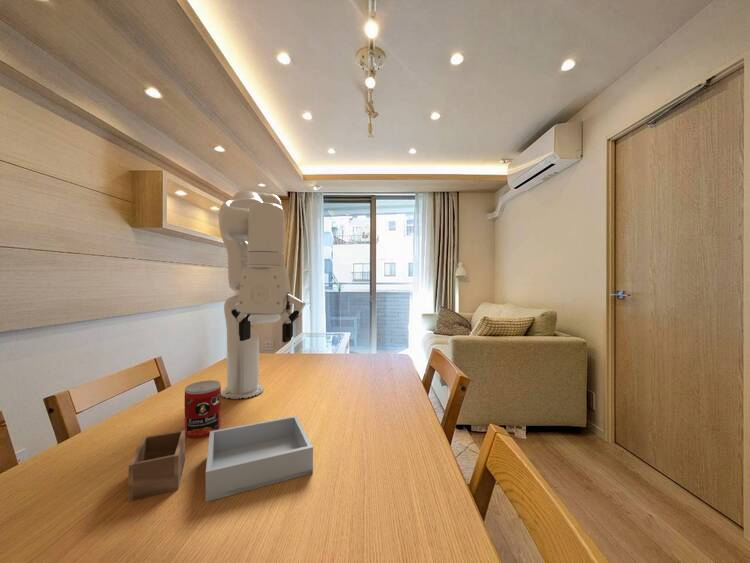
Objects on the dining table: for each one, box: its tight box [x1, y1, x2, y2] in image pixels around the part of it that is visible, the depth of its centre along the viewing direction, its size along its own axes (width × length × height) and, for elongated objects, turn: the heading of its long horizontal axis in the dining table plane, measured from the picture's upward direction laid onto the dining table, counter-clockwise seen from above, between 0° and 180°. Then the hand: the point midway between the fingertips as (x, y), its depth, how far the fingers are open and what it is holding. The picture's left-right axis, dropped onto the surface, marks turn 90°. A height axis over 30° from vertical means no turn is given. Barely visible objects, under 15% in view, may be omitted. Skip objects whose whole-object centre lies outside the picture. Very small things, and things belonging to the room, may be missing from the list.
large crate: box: [205, 415, 314, 503], centre depth 62 cm, size 15×18×5 cm
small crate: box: [127, 429, 186, 502], centre depth 57 cm, size 10×7×6 cm
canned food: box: [184, 379, 222, 439], centre depth 75 cm, size 8×8×11 cm
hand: (265, 340), depth 67 cm, fingers open, 9 cm apart
